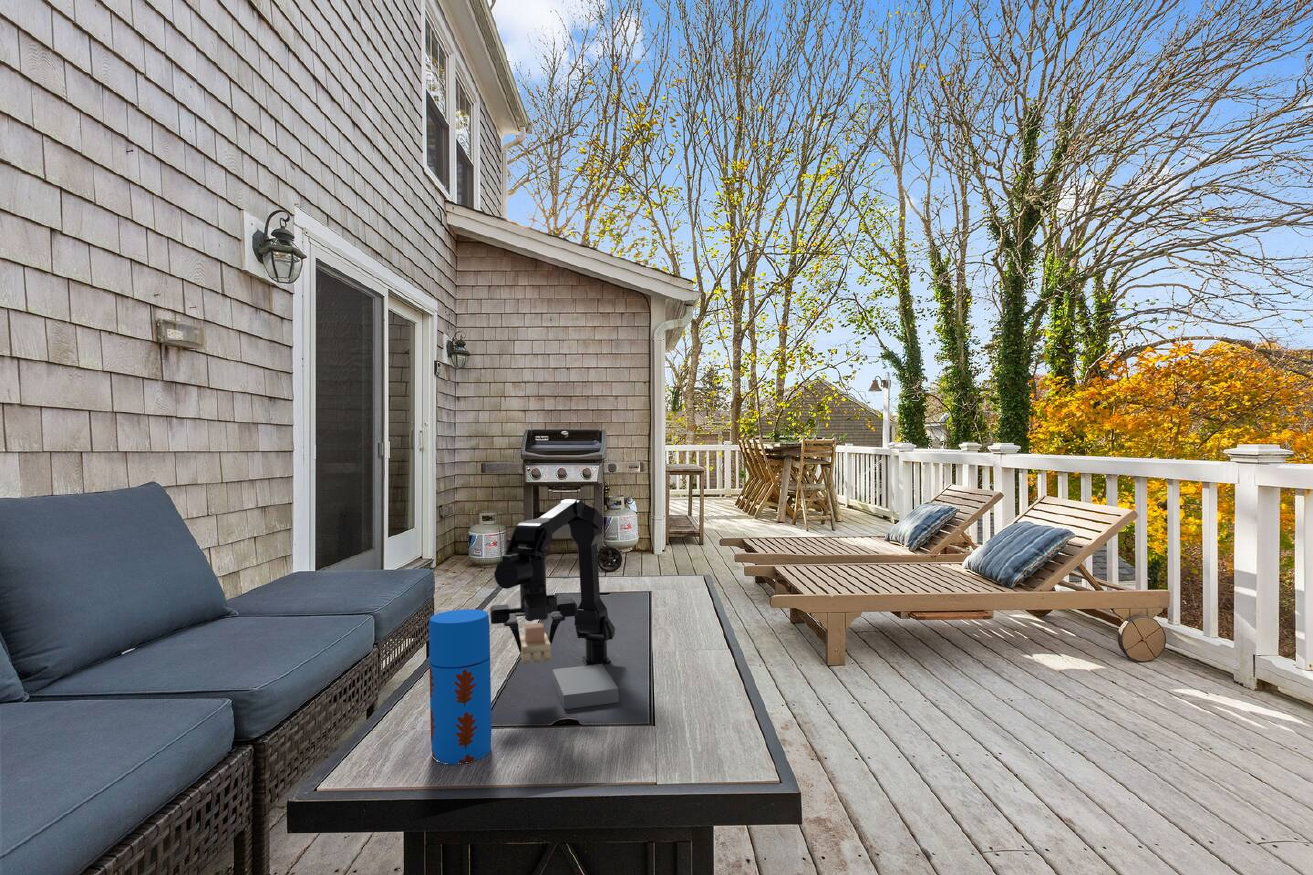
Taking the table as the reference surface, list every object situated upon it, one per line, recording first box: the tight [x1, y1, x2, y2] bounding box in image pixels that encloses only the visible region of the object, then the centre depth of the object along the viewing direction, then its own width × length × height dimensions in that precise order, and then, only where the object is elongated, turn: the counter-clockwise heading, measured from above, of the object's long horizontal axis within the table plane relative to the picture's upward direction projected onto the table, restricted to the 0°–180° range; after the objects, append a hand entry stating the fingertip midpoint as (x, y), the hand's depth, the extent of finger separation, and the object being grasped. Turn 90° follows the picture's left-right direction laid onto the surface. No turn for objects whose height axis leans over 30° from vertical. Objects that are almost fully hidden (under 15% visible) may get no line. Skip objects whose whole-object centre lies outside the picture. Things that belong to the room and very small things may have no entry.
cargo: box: [523, 622, 545, 643], centre depth 150 cm, size 4×4×3 cm
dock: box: [552, 664, 620, 710], centre depth 155 cm, size 18×12×3 cm, turn 16°
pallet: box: [519, 631, 552, 665], centre depth 150 cm, size 10×6×4 cm, turn 16°
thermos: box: [428, 608, 492, 765], centre depth 125 cm, size 11×11×25 cm
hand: (534, 649), depth 150 cm, fingers closed on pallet, 6 cm apart
